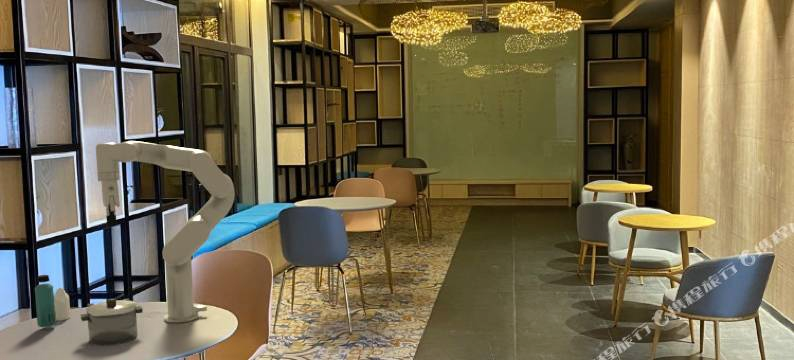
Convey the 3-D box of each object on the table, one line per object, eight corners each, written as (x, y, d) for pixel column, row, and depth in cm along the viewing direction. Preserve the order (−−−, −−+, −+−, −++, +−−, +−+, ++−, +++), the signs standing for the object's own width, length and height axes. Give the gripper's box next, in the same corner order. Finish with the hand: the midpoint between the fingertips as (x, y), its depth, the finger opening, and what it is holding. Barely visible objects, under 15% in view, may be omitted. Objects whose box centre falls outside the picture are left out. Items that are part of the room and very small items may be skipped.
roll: (56, 290, 295) (48, 288, 299) (58, 321, 296) (51, 319, 300) (71, 287, 300) (63, 285, 303) (73, 317, 301) (66, 315, 304)
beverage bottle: (49, 331, 283) (45, 277, 281) (33, 330, 284) (29, 277, 282) (60, 326, 289) (56, 273, 287) (44, 325, 291) (40, 273, 289)
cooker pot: (139, 327, 285) (137, 297, 284) (147, 339, 270) (145, 307, 269) (80, 336, 276) (78, 305, 275) (85, 349, 261) (83, 316, 260)
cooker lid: (132, 301, 283) (131, 291, 282) (140, 311, 268) (139, 301, 268) (84, 307, 275) (83, 298, 275) (89, 319, 261) (88, 308, 260)
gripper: (122, 177, 280) (125, 227, 282) (116, 174, 293) (119, 222, 295) (100, 178, 277) (103, 229, 279) (95, 175, 290) (98, 224, 292)
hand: (111, 225), depth 287 cm, fingers closed
